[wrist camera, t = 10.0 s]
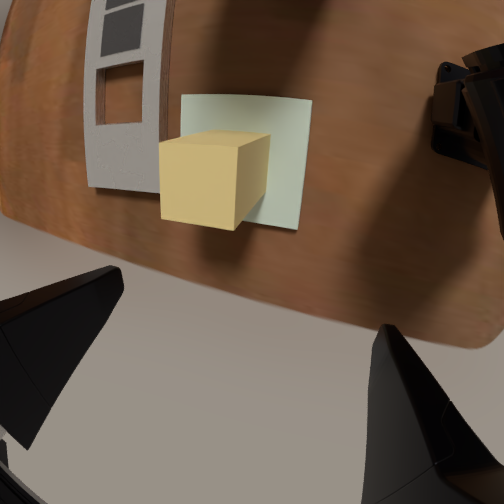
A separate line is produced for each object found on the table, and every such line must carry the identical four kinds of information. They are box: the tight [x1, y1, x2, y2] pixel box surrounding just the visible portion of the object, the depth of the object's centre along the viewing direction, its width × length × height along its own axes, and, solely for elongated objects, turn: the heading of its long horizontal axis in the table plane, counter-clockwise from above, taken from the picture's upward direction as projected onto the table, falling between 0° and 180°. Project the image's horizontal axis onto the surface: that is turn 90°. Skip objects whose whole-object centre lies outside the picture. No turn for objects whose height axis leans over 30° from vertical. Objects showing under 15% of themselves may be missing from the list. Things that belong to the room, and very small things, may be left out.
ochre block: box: [159, 130, 271, 231], centre depth 17 cm, size 4×4×7 cm
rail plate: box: [84, 0, 175, 193], centre depth 18 cm, size 8×20×1 cm, turn 176°
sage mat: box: [181, 94, 312, 230], centre depth 20 cm, size 9×9×1 cm
